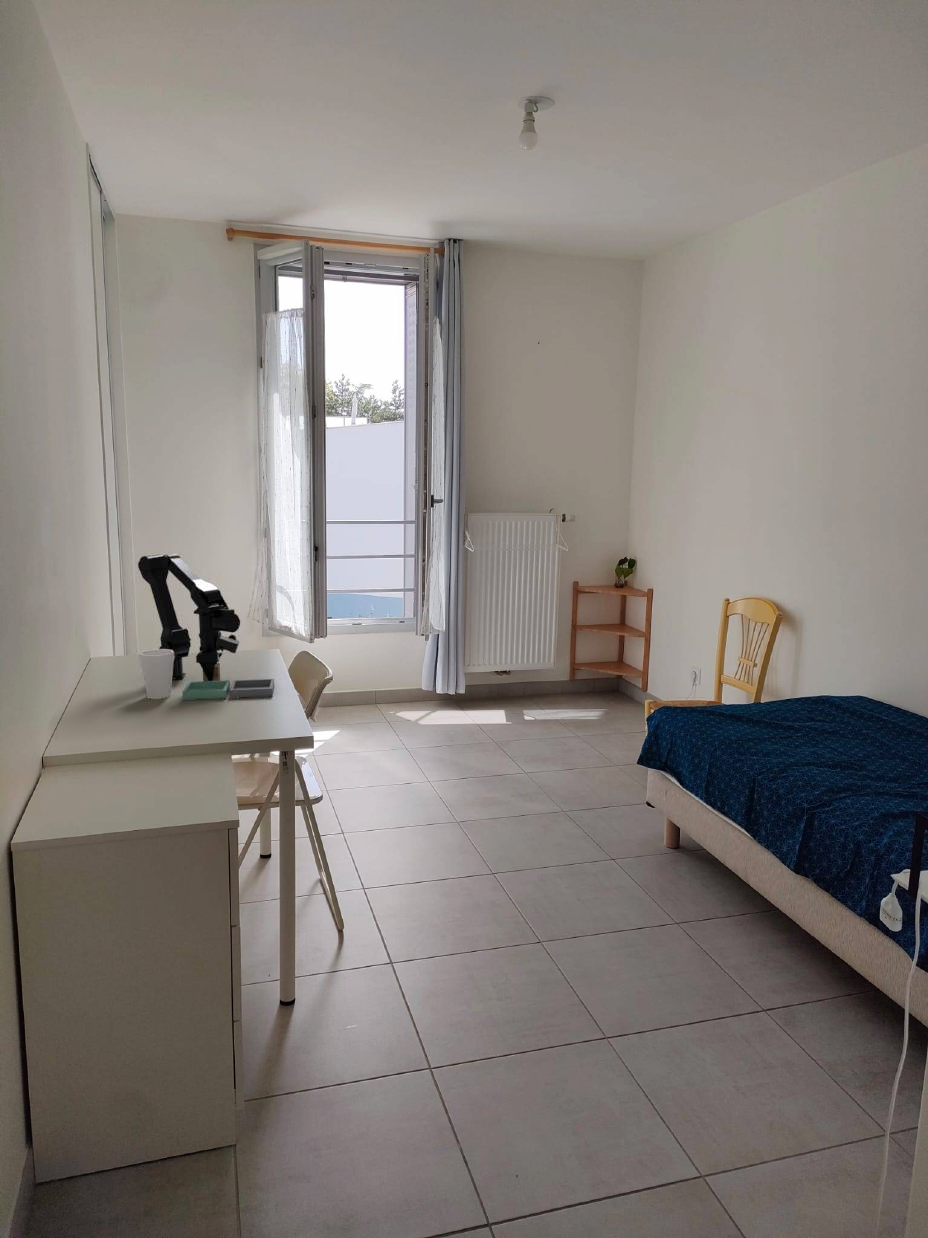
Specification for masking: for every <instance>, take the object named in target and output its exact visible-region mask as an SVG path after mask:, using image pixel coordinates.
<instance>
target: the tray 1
mask: <svg viewBox="0 0 928 1238" xmlns="http://www.w3.org/2000/svg"><path fill="white" fill-rule="evenodd" d="M230 687H231V680H220V681H203V680H201V681H188V682H187V684H186V685H185V686H184V689H183V690H182V701H198V700H197V699H207V700H224V698H226V697H227V698H228V696H227V695H229V694H230V692H229V690H230ZM227 698H226V699H227Z"/></svg>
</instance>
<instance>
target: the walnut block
mask: <svg viewBox="0 0 928 1238" xmlns="http://www.w3.org/2000/svg"><path fill="white" fill-rule="evenodd" d="M220 665H221V664H220V662H217V663H216V664H215V668H214V676H213V681H221V668H220ZM202 681H209V680H208V678H207V677H206V675H205V673H204V671H203V670H202Z"/></svg>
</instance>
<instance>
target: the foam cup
mask: <svg viewBox="0 0 928 1238" xmlns="http://www.w3.org/2000/svg"><path fill="white" fill-rule="evenodd" d="M138 659H139V660H138V661H139V662H140V667H141V671H142V675H143V676H142V677H143V682H144V686H145V691H146V696H147V698H148V697H149V698H148V699H150V698H151V699H150V700H161V699H162V698H163V699H166V698H165V697H167V698H169V696H170V695H172V685H173V684H172V683H173V679H172V674H173V661H174V651H173V650H169V649H159V648H154V649H149V650H143V651H140V652H139V653H138ZM170 697H171V696H170Z"/></svg>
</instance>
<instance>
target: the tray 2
mask: <svg viewBox="0 0 928 1238" xmlns="http://www.w3.org/2000/svg"><path fill="white" fill-rule="evenodd" d="M274 690H275V679H274V678H261V679H258V678H257V679H256V678H255V679H254V678H253V679H233V680H232V682H231V684H230V690H229V699H230V698H233V699H240V698H239V697H258V698H273V695H274ZM237 697H238V698H237Z"/></svg>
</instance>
